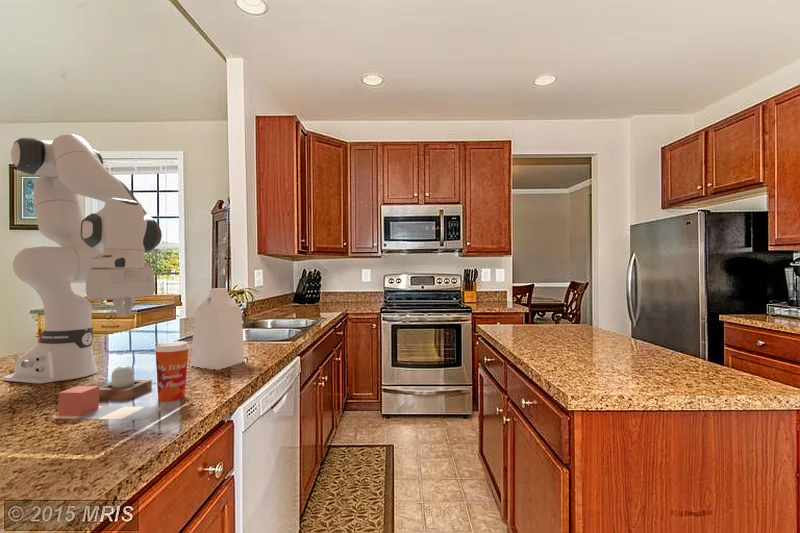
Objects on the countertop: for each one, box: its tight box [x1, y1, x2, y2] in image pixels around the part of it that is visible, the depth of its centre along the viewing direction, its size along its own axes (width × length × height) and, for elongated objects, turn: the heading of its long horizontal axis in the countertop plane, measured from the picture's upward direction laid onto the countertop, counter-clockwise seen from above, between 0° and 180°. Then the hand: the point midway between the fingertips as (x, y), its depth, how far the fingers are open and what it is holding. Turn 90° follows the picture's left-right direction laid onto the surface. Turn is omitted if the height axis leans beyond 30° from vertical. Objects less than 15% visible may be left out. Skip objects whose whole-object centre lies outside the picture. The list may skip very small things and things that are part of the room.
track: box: [53, 405, 167, 421], centre depth 91 cm, size 20×8×1 cm, turn 88°
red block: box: [57, 385, 100, 416], centre depth 91 cm, size 5×5×5 cm
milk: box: [190, 287, 245, 371], centre depth 140 cm, size 12×12×26 cm
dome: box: [111, 364, 135, 388], centre depth 104 cm, size 5×5×6 cm
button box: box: [99, 379, 153, 401], centre depth 104 cm, size 9×9×3 cm
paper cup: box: [153, 340, 191, 402], centre depth 101 cm, size 8×8×14 cm
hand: (123, 315), depth 104 cm, fingers closed
